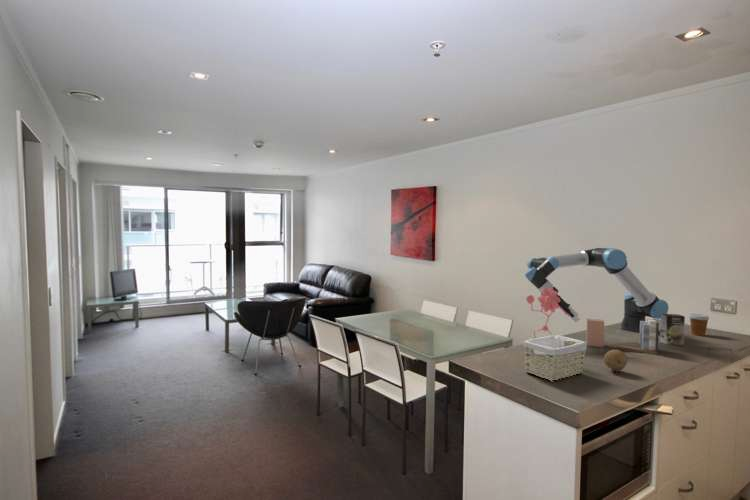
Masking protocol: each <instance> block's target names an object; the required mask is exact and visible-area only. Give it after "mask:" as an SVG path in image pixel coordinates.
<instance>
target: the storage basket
mask: <svg viewBox="0 0 750 500" xmlns="http://www.w3.org/2000/svg"><path fill="white" fill-rule="evenodd" d="M565 344H566V345H565ZM586 351H587V343H586V340H582V339H581V340H580V339H577V338H571V337H567V336H563V335H559V334H557V335H556V334H555V335H553V334H552V336H551V335H547V336H542V337H534V338H529V339H527V340H524V341H523V353H524V368H525V369H526V370H529V371H531V372H534V373H536V374H539V375H541V376H544V377H546V378H549V379H552V380H553V379H558V378H564V379H566V378H565V377H568V378H570V377H569V376H572V377H574V376H573V375H575V376H577V375H576V374H579V375H581V374H580V373H582V374H583V371H584V364H585V356H586ZM525 369H524V370H525Z"/></svg>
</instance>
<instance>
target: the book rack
mask: <svg viewBox="0 0 750 500" xmlns="http://www.w3.org/2000/svg"><path fill="white" fill-rule="evenodd" d="M659 325H660V323H659V322H657V321H656V320H655V318H652V317H648V316H646V317H645V321H640V332H639V336H638V337H639V338H638V340H639V341H638V343H632V342H622V341H613V345H614V347H615V348H616V349H615V350H619V351H621V352H623V351H624V352H632V351H633V352H634V353H635V352H636V353H642V352H643V354H652V355H653V354H654V355H659V332H660V331H659V330H660V329H659V328H660V327H659ZM633 352H632V353H633Z"/></svg>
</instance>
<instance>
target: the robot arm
mask: <svg viewBox="0 0 750 500" xmlns="http://www.w3.org/2000/svg"><path fill="white" fill-rule="evenodd" d="M627 258H628V256H627V255H626V253H625V252H624V251H623V250H621V249H618V248H612V247H611V248H609V247H608V248H607V247H605V248H604V247H597V248H595V247H594V248H591V249H586V250H581V251H579V252H577V253H575V252H574V253H568V254H560V255H554V256H553V255H550V256H546V257H538V258H536V257H535V258H534V257H532V258H529V260H528V261H527V264H526V265H527V268H528V269H529V270H528V271H526V273H525V274H524V276H525V278H526V279H527V280H528V281H529V282H530V283H531V284H532V285H533V286H534V287H535V288H536V289H538V292H539V293H541V291H543V289H544V287H546V288H547V290H549V289H550V288H553V290H554V291H557V293H559V290H558V289H557V288H556V287H555V286H554V285H553V284H552V282H550V280H549V279H547V278H548V276H550V275H551V274H552V273H554V272H555V271H556V270H557V269H561V268H570V267H576V266H583V267H587V266H588V267H598V268H603V269H605V271H607V273H608V274H610V275H613V276H614V277H615V278H616V279H617V280H618V282H620V284H621V285H622V286H623V287H624V288H625V289H626V291H627V292H628V293H626V294H625V295H624V298H623V299H624V300H623V301H624V302H623V303H624V307H623V308H624V312H623V315H624V316H623V319H622V321H621V323H620V329H622V330H624V331H627V332H637V333H640V321H645V317H647V318H653V319H657V320H659V319H660V320H661V314H669V313H668V312H669V304H668V302H667V301H666V300H664V299H660V298H659V297H658V296H657V295H656V294H655V293H654V292H652V291H649V290H648V288H646V286H645V285H644V284H643V283H642V282H641V280H640V279H639V278H638V276H636V275H635V274H634V272H633V271H632V270H631V269H630V268H629V266H628V260H627ZM557 297H559V298H560V300H561V301H560V302H558V305H559V306H560V307H561V308H562V309H563V310H564V311H565V312H566V313H567V314H568V315H569V316H568V315H567V314H566V313H564V314H565V315H567V316H568V317H570V318H571V320H573V321H574V322H575V323H578V322H579V321H580V320H581V319H580V318H579V317H578V316H579V313H578V312H577V311H575V309H573V308H572V307H571V304H570V303H568V302H567V301H565V300H564V299H563V298H562V297H561V296H560V295H558V294H557Z"/></svg>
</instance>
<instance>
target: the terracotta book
mask: <svg viewBox="0 0 750 500" xmlns="http://www.w3.org/2000/svg"><path fill="white" fill-rule="evenodd" d="M585 342H586V343H587V345H586V347H588V346H589V347H597V348H604V345H605V320H604V319H596V318H586V340H585Z"/></svg>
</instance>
